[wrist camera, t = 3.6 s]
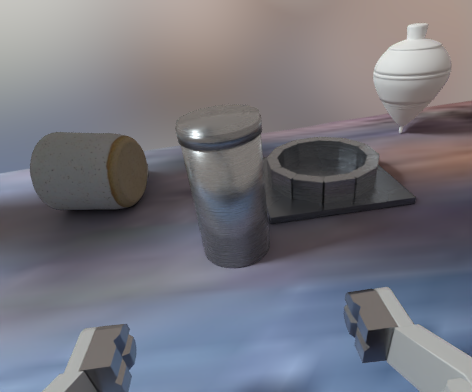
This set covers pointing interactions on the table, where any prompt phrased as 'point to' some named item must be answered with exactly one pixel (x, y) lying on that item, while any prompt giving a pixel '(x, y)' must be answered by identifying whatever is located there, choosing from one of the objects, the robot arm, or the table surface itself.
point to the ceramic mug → (88, 171)
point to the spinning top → (411, 74)
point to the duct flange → (327, 180)
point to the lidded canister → (227, 181)
